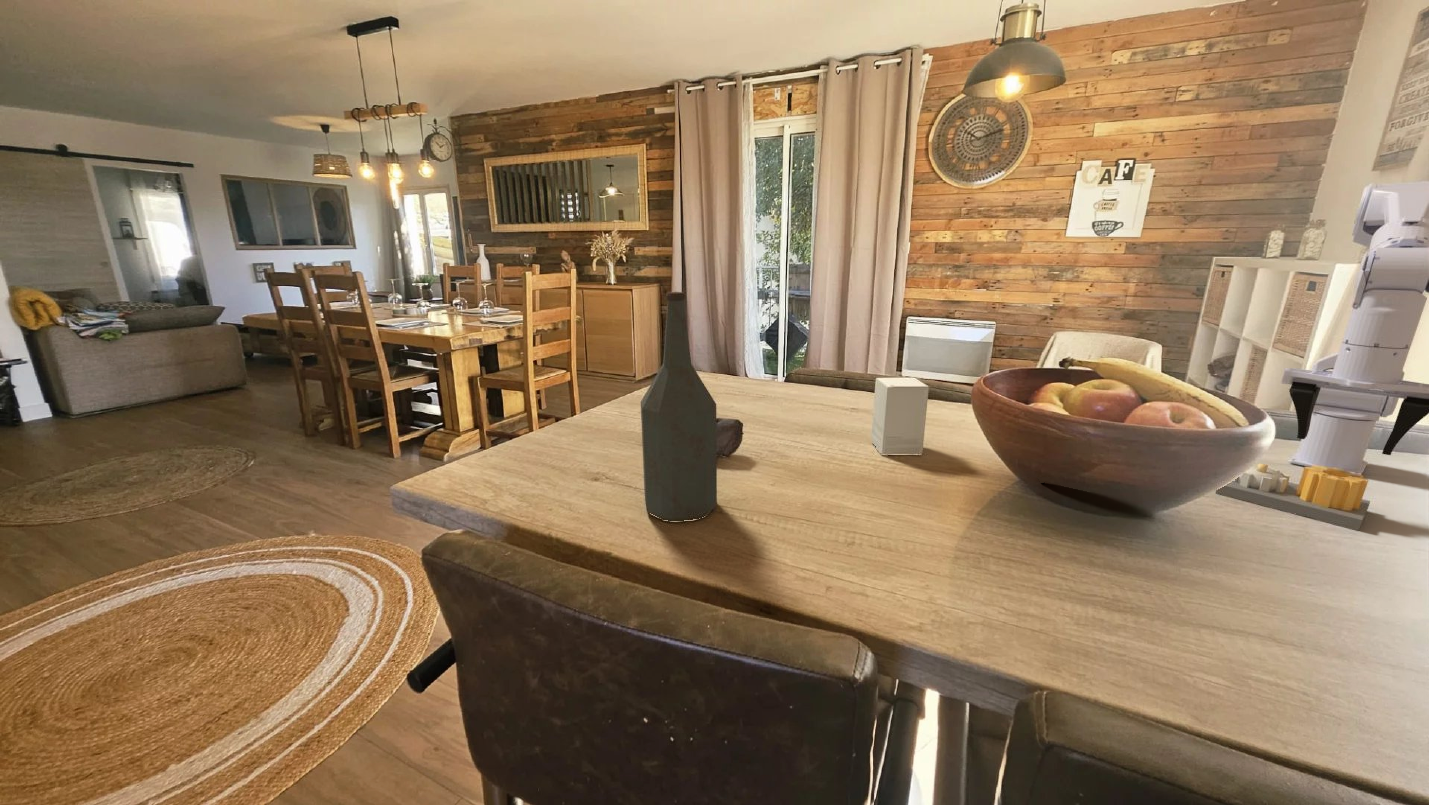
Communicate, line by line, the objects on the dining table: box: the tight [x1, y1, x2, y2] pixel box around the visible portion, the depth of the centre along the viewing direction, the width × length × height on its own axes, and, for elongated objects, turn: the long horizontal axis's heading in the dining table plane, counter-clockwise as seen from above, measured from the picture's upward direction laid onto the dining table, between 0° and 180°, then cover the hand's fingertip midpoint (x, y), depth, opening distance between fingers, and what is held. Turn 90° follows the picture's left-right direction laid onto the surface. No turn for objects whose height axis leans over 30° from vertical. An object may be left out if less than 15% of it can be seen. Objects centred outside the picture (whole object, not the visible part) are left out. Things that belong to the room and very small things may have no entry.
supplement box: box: [870, 377, 930, 455], centre depth 98 cm, size 7×7×13 cm
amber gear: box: [1296, 465, 1369, 511], centre depth 74 cm, size 6×6×4 cm
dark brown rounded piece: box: [716, 417, 745, 458], centre depth 96 cm, size 15×5×7 cm, turn 78°
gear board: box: [1215, 463, 1371, 531], centre depth 77 cm, size 9×14×5 cm, turn 36°
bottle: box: [640, 291, 718, 521], centre depth 73 cm, size 10×10×30 cm
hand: (1342, 444), depth 74 cm, fingers open, 7 cm apart
